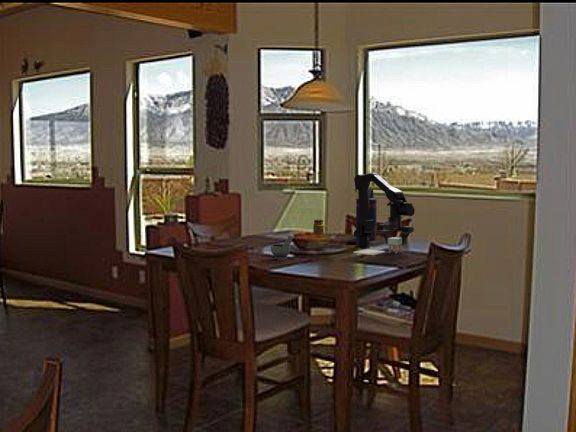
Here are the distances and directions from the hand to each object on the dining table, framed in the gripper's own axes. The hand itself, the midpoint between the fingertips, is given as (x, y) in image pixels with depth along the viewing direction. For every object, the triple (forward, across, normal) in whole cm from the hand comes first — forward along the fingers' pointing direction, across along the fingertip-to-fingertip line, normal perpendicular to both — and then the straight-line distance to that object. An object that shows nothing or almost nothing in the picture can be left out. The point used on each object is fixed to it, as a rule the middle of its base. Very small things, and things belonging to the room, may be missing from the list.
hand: (395, 244), depth 361 cm
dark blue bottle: (+4, -38, +30) cm, 49 cm away
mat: (+4, -10, -9) cm, 14 cm away
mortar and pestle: (+4, -32, -53) cm, 62 cm away
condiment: (+4, -58, +9) cm, 59 cm away
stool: (+4, 0, 0) cm, 4 cm away
